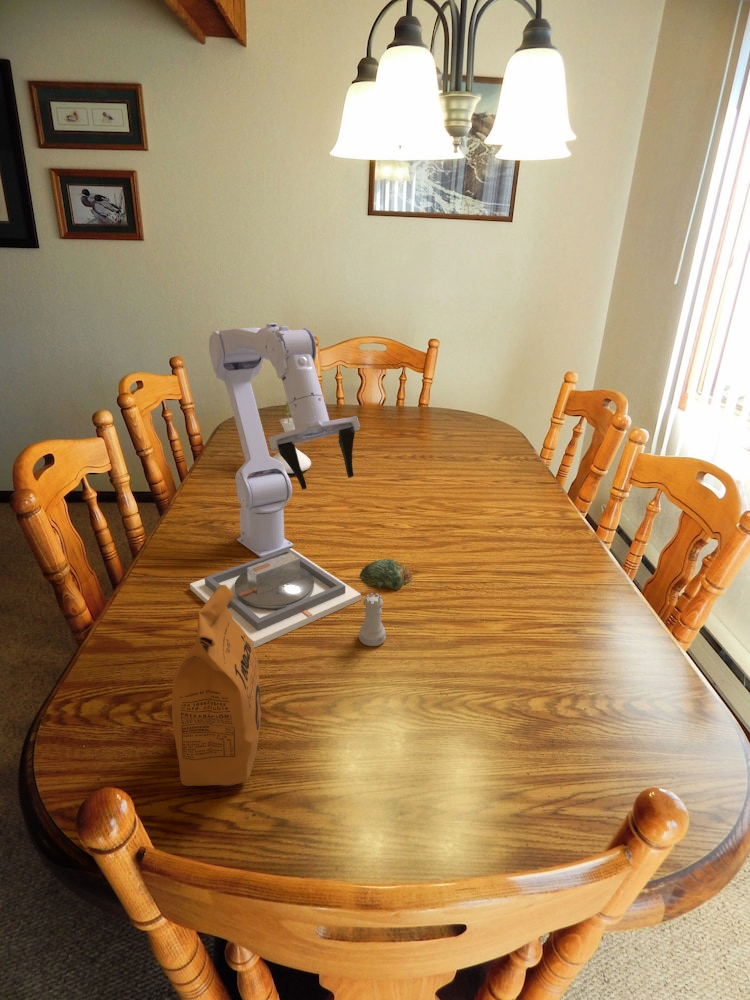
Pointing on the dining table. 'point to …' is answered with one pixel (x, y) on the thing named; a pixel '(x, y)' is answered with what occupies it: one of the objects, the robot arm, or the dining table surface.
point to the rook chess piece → (372, 622)
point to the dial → (274, 583)
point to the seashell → (386, 574)
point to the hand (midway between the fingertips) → (327, 482)
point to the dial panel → (281, 621)
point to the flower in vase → (302, 458)
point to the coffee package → (217, 700)
